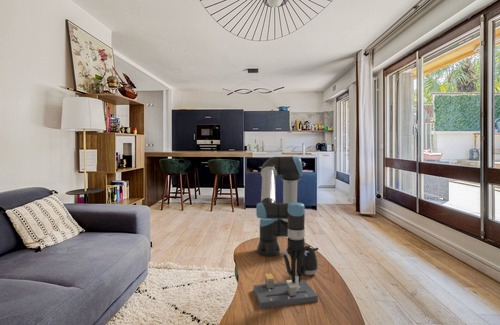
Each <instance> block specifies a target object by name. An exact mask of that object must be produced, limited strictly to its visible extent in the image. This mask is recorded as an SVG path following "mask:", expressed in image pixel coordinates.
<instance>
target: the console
mask: <svg viewBox="0 0 500 325" xmlns="http://www.w3.org/2000/svg"><path fill="white" fill-rule="evenodd" d="M252 287H253V288H252V289H253V294H254V295H255V298H256V300H257V303H258V305H259V308H260V309H267V308H269V309H270V308H276V307H283V306H285V307H286V306H292V305H299V304H307V303H308V304H309V303H310V304H311V303H315V302H317V303H318V302H319V296H318V295H317V293H316V292H315V290H313V288H312V287H311V285H309V283H308V282H307V281H306V280H305V279H301V281H300V282H299V290H298V291H297V295H294V296H290V295H289V294H288V292H287V290H286V281H281V282H280V281H279V282H274V288H270V289H268V288H267V286H266V284H265V283H264V284H263V283H261V284H254V285H253V286H252Z"/></svg>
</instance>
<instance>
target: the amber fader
mask: <svg viewBox="0 0 500 325" xmlns="http://www.w3.org/2000/svg"><path fill="white" fill-rule="evenodd" d="M274 283H275V278H274V276H273V274H272V273H264V284H266V286H267V288H268V289H270V288H274Z"/></svg>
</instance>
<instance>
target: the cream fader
mask: <svg viewBox="0 0 500 325" xmlns="http://www.w3.org/2000/svg"><path fill="white" fill-rule="evenodd" d="M285 282H286V290H287V292H288V294H289V295H290V296H294V295H297V285H296V284H295V283H293V282H292V279H286V281H285Z"/></svg>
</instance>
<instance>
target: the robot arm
mask: <svg viewBox="0 0 500 325" xmlns="http://www.w3.org/2000/svg"><path fill="white" fill-rule="evenodd" d="M303 172H304V170H303V164H302V159H301V157H299V156H293V155H292V156H290V155H289V156H272V157H270V158H268V159H267V160H266V161H265V162H264V163H263V164H262V166H261V169H260V177H261V194H260V195H261V196H260V202H258V203H256V208H255V209H256V210H255V211H256V217H257V219H259V241H258V245H257V248H256V253H257V254H258V255H260V256H264V257H275V256H278V255H279V254H280V253H281V248H280V244H279V242H278V238H287V249H286V251H285V252H282V253H281V256H282V258H283V259H284V262H285V263H284V264H285V268H286V273H288V275H289V276H291V280H292V282H293V283H295V284H296V285H297V291H298V290H299V282H300V281H301V280H302V279H301V277H302V275H303V274H304V273H305V269H306V265H307V261H308V257H309V256H310V253H309V252H308V251H306V250H305V248H304V247H305V246H306V245H305V244H306V240H305V237H306V236H305V234H306V233H305V232H306V231H305V217H306V216H305V214H306V209H305V204H304V203H303V202H298V182H299V181H300V180H301V177H302V176H304V175H303V174H304V173H303ZM277 176H279V177H280V179H281V180H282V182H283V186H282V188H283V190H282V191H283V192H282V193H283V196H282V200H283V202H276V200H277V198H276V191H277V188H276V178H277ZM303 254H304V256H303V260H302V264H301V257H302V255H303ZM289 257H290V261H289ZM304 275H305V274H304Z"/></svg>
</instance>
